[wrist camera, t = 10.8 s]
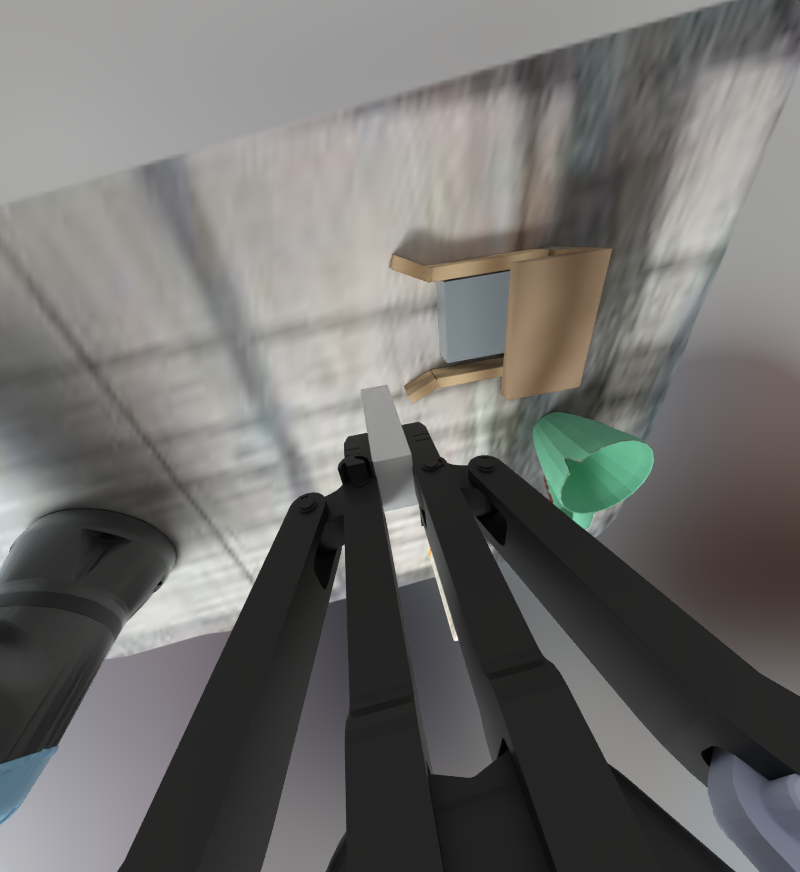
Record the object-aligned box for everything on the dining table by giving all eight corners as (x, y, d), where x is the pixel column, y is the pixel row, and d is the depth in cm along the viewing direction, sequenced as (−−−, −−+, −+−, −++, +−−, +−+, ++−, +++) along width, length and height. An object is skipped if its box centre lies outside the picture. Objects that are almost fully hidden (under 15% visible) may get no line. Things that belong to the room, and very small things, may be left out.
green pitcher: (517, 401, 36) (571, 450, 27) (595, 386, 36) (670, 431, 28) (507, 490, 44) (545, 548, 36) (570, 477, 44) (622, 532, 36)
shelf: (404, 394, 33) (418, 429, 27) (387, 254, 25) (401, 260, 19) (535, 370, 34) (576, 398, 28) (555, 229, 26) (617, 227, 20)
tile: (439, 353, 31) (447, 363, 29) (434, 277, 27) (444, 282, 25) (522, 337, 32) (537, 346, 29) (530, 261, 28) (548, 264, 25)
